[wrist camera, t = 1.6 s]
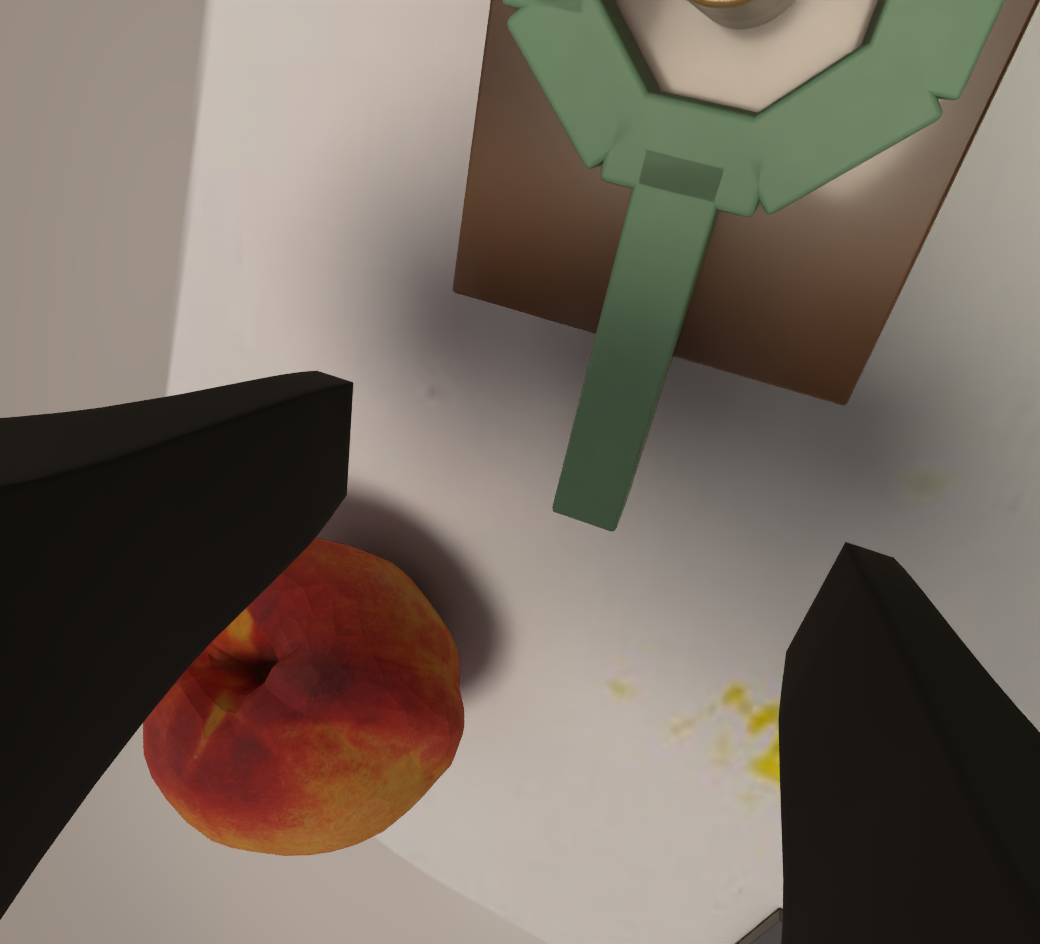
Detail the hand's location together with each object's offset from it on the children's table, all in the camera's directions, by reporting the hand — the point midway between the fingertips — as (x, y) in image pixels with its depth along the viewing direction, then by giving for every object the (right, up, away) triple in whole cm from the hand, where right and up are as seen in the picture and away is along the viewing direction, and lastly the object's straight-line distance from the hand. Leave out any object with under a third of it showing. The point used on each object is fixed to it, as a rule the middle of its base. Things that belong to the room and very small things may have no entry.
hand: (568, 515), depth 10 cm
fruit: (-5, -3, +12) cm, 13 cm away
